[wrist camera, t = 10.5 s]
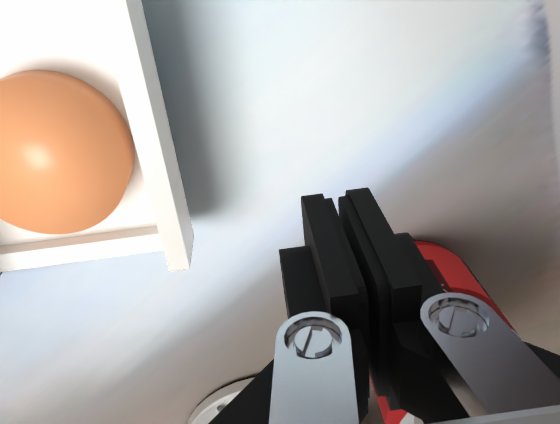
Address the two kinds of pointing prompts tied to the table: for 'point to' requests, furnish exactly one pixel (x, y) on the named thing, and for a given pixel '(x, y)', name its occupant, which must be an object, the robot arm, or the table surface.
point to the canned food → (451, 279)
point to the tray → (133, 107)
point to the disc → (60, 153)
